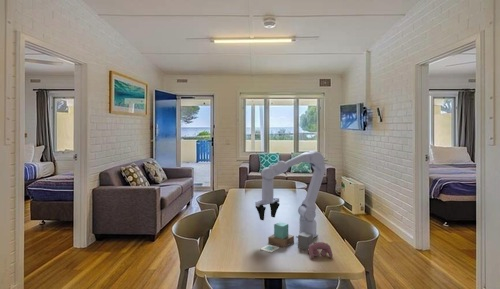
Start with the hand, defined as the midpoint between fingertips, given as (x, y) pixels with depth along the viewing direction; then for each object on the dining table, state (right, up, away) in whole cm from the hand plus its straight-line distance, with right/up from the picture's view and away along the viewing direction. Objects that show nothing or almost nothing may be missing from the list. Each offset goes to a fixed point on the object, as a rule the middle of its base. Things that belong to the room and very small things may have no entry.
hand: (267, 218), depth 155 cm
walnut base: (+6, -11, -4) cm, 13 cm away
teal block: (+6, -8, -4) cm, 11 cm away
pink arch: (+22, -12, -21) cm, 32 cm away
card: (0, -11, -12) cm, 17 cm away
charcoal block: (+17, -11, -10) cm, 23 cm away
